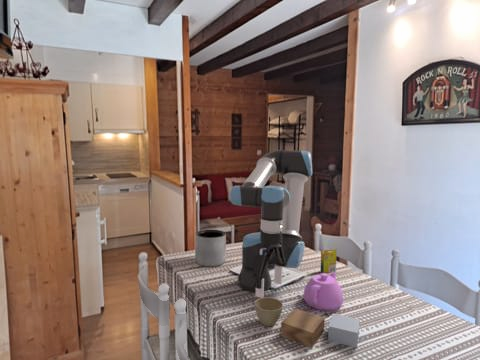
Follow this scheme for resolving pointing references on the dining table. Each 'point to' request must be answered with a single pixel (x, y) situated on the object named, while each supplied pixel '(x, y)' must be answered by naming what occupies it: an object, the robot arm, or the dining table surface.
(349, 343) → the slate block
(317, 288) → the teapot
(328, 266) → the crayon box
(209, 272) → the dining table surface
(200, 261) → the planter
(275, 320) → the tan cup
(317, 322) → the walnut block
